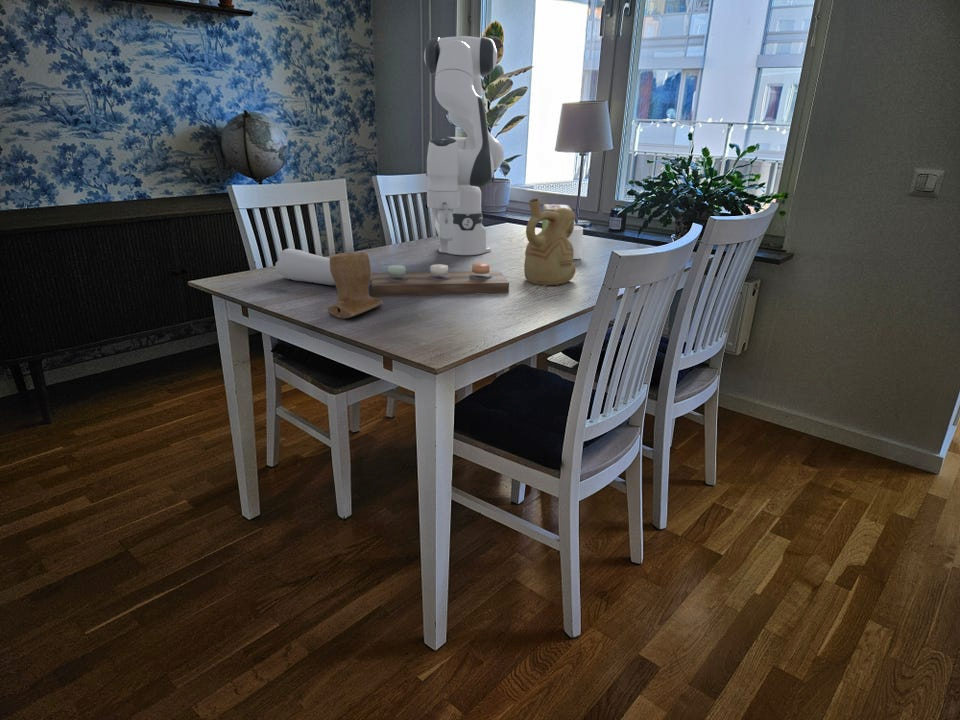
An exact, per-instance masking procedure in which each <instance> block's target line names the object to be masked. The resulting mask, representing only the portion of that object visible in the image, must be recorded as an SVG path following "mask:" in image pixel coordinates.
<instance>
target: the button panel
mask: <svg viewBox="0 0 960 720" xmlns="http://www.w3.org/2000/svg"><path fill="white" fill-rule="evenodd" d="M371 274H372V281H371V292H372V293H371V294H372V296H371V297H395V296H396V297H398V296H399V297H400V296H440V295H441V294H442V295H443V296H444V294H446V295H475V294H476V293H487V294H509V293H510V282H509V281H508V279H507V278H506V276H505V275H504V274H503V272H502V271H501V270H489V273H487V274H476V273H473V272H472V270H465V271H463V270H460V271H459V270H457V271H454V270H453V271H448V274H446V275H432V274H431V271H414V272H411V271H410V272H409V271H408V272H407V271H406V275H403V276H390V275H388V272H372V273H371ZM476 295H477V294H476Z"/></svg>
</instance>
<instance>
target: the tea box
mask: <svg viewBox="0 0 960 720" xmlns="http://www.w3.org/2000/svg"><path fill="white" fill-rule="evenodd" d="M542 206H543V207H542V212H544V211H551V212H554V211H555V210H557V209H559V208H567V209H569V210H571V211H572V212H573V209H572V208H571V207H570V205H568V204H548V203H547V204H546V203H544V204H543V205H542ZM547 222H548V220H547V219H546V220H542V221H541V231H542V230H543V229H544V228H545V227H546V225H547Z"/></svg>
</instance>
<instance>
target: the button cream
mask: <svg viewBox="0 0 960 720" xmlns="http://www.w3.org/2000/svg"><path fill="white" fill-rule="evenodd" d="M430 272H431V274H432V275H446V274H448V272H449V266H448V264H440V263H438V264H437V263H436V264H435V263H434V264H432V265H430Z"/></svg>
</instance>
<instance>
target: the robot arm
mask: <svg viewBox="0 0 960 720" xmlns="http://www.w3.org/2000/svg"><path fill="white" fill-rule="evenodd" d="M423 59H424V60H423V61H424V63H425V67H426V70H427V72H429V73H430V74H432V75H434V76H435V78H434V94H435V97H436V100H437V102H438V104H439V105H440V106H441V107H442V108H443V109H444V110H446V111H448V119H449V121H450V122H451V123H452V124H453V125H454V126H456V127H457V128H460V129H461V130H463V131H464V133H465V134H466V136H465V137H464V136H463V137H461V136H440V137H434V138H432V139H431V140H429V142H428V146H427V157H426V159H425V175H426V177H427V180H428V182H427V183H428V184H427V187H426V194H427V195H426V197H427V198H426V200H427V201H426V203H427V204H426V205H427V208H430V209H431V213H432V215H433V217H432V218H433V224H434V228H435V230H436V233H437V235H438V238H439V239H438V240H439V248H438V252H439V253H445V254H450V255H454V256H455V255H457V256H475V255H482V254H484V253H489V252H491V250H492V249H491V247H489V246H488V245H487V229H486V227H485V226H484V225H483V224H482V223H483V212H482V190H481V188H483V187H485V186H487V185H489V183H490V182H491V181H492V180H493V177H494V172H495V170H498V169H499V168H500V167H501V165H502V164H503V161H504V157H505V156H504V155H505V154H504V153H505V151H504V148H503V145H502V144H501V142H500V141H499V140H498V139H496V138H495V137H494V136H493V135H492V134H491V133H490V131H489V128H488V121H487V119H488V118H487V115H486V108H485V103H484V100H483V87H482V86H483V85H482V78H486V76H488V75H491V74H492V73H493V72H494V70H495V67H496V66H497V63H498V51H497V48H496V43H495V42H494V40H493V39H492V38H489V37H485V36H481V37H480V36H479V37H478V36H468V35H460V36H446V37H433V38H430V39H429V40H428V41H427V43H426V44H425V48H424V53H423Z"/></svg>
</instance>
